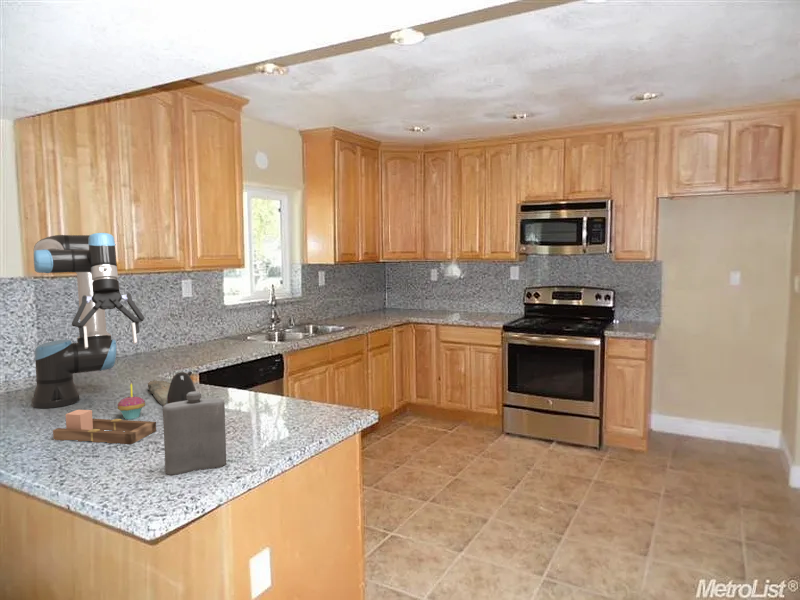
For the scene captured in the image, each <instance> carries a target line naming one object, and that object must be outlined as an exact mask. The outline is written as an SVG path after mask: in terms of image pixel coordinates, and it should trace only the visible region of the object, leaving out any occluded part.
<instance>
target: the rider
mask: <svg viewBox="0 0 800 600" xmlns="http://www.w3.org/2000/svg"><path fill="white" fill-rule="evenodd" d="M92 419H93V410H92V409H76V410H73V411H70V412H67V413H66V414H65V426H66V429H85V430H92V429H93V420H92Z"/></svg>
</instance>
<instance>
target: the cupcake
mask: <svg viewBox="0 0 800 600" xmlns="http://www.w3.org/2000/svg"><path fill="white" fill-rule="evenodd" d="M129 385H130V386H129V389H130V392H129V393H130V396H127V397H123V398H122V399H121V400H120V401H119V402H118V403H117V410H119V411H120V413H121V414H122V416H123V419H124V418H125V419H124V420H133V419H137V417H138V418H139V417H140V415H141V412H142V409H143V407H145V406H146V401H145V400H144V398H142V397H140V396H134V394H133V392H134V391H133V390H134V389H133V383H132V381H130V384H129Z"/></svg>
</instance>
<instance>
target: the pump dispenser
mask: <svg viewBox="0 0 800 600" xmlns="http://www.w3.org/2000/svg"><path fill="white" fill-rule="evenodd" d="M192 374H193V372H192V371H189V372H188V373H187V372H183V371H179V372H177V373H175V374H174V376H173V377H172V379H171V381H170V382H169V383H170V386H169V390H168V395H167V403H166V404H169V403H173V402H179V401H186V400H187V397H186V395H187V394H188V393H189V392H194V391H197V390H196V386H195V384H194V382H193V379H192V377H191V376H192Z"/></svg>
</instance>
